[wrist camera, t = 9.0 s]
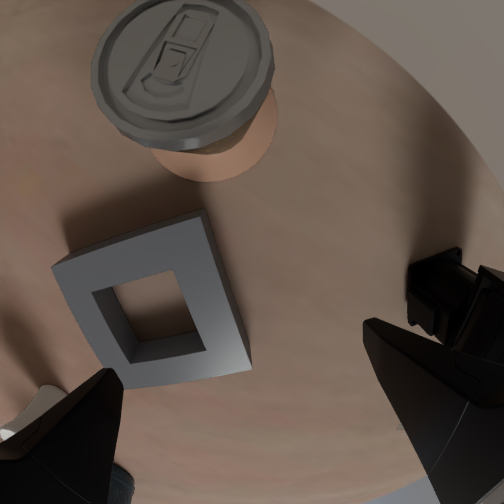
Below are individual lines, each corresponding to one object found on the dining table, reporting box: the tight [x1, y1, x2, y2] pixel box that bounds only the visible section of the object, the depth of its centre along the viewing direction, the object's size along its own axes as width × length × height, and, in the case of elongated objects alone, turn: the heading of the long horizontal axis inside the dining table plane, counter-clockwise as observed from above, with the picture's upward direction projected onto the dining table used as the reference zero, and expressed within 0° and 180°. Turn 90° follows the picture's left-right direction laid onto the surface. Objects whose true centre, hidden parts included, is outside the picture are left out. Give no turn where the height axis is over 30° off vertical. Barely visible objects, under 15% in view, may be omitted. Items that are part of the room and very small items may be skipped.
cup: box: [0, 385, 68, 441], centre depth 20 cm, size 9×9×10 cm
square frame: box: [51, 208, 252, 390], centre depth 20 cm, size 12×12×3 cm
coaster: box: [150, 89, 277, 182], centre depth 17 cm, size 9×9×1 cm
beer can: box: [91, 0, 275, 155], centre depth 11 cm, size 5×5×12 cm
